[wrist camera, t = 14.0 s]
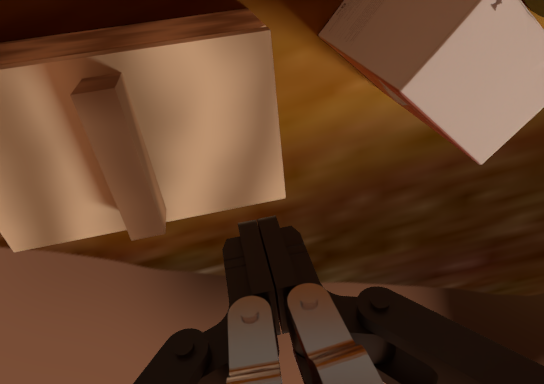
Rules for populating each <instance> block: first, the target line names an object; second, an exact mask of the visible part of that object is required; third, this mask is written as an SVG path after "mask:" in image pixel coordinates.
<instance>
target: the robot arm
mask: <svg viewBox="0 0 544 384" xmlns="http://www.w3.org/2000/svg"><path fill="white" fill-rule="evenodd" d="M257 222H258V225H257ZM257 222H256V220H252V221H247V222H242V223H238V227H239V233H240V237H235V238H230V239H227V240H226V242H225V245H224V247H223V249H222V250H223V257H224V265H225V273H226V280H227V287H228V295H229V309H228V313H227V314H226V316H225V317H224V318H223V320H222V321H221V322H219V323H218V324H217V325H216V326H214V327H212V328H210V329H208V330H207V331H205V332H201V331H199V330H197V329H192V328H191V329H183V330H181V331H178V332H176V333H175V334H173V335H172V336H171V337H170V338H169V339H168V340H167V341H166V342H165V344H164V345H163V346H162V347H161V349H160V350H159V351H158V353H157V354H156V355H155V356H154V358H153V359H152V360H151V362H150V363H149V364H148V366H147V367H146V368H145V369H144V371H143V372H142V373H141V374H140V376H139V377H138V378H137V380H136V381H135V382H134V383H133V384H282V379H281V372H280V365H279V358H278V357H279V345H278V338H277V335H280V334H281V333H280V326H281V329H282V333H283V334H284V333H288V332H289V333H290V337H291V341H292V347H293V354H294V357H295V360H296V362H297V365H298V368H299V371H300V374H301V377H302V379H303V382H304V384H384V383H383V382H385V383H386V384H544V366H543V365H540V364H538V363H537V362H535V361H533V360H531V359H529V358H526V357H525V356H523V355H520V354H518V353H516V352H514V351H512V350H510V349H508V348H506V347H504V346H502V345H500V344H498V343H496V342H494V341H492V340H490V339H488V338H486V337H484V336H482V335H480V334H478V333H476V332H474V331H472V330H470V329H468V328H466V327H464V326H462V325H460V324H458V323H456V322H454V321H452V320H450V319H447V318H446V317H444V316H441V315H440V314H438V313H436V312H434V311H432V310H430V309H427V308H425V307H424V306H422V305H420V304H418V303H416V302H414V301H412V300H410V299H408V298H406V297H403V296H402V295H399V294H397V293H395V292H393V291H391V290H389V289H387V288H383V287H370V288H367V289H365V290H363V291H362V292H361V293H360V294H359V296H358V297H349V296H339V295H335V294H333V293H331V292H329V291H327V290H326V289H325V288H324V287H323V286H322V285H321V283H320V281H319V279H318V277H317V274H316V272H315V269H314V267H313V264H312V262H311V259H310V257H309V254H308V253H307V249H306V247H305V245H304V242H303V239H302V237H301V235H300V233H299V232H298V231H297V230H296V229H294V228H293V227H292V226H288V227H283V228H280V227H279V224H278V221H277V218H276V216H271V217H266V218H261V219H257ZM279 322H280V325H279Z"/></svg>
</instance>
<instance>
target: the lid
mask: <svg viewBox="0 0 544 384" xmlns="http://www.w3.org/2000/svg"><path fill="white" fill-rule="evenodd" d="M283 198H286V196H285V185H284V174H283V163H282V152H281V141H280V130H279V119H278V109H277V98H276V87H275V76H274V65H273V54H272V43H271V32H270V29H269V28H268V27H261V28H254V29H247V30H240V31H233V32H226V33H219V34H212V35H206V36H199V37H192V38H185V39H178V40H171V41H164V42H157V43H151V44H144V45H137V46H130V47H123V48H116V49H109V50H102V51H95V52H89V53H82V54H75V55H68V56H61V57H54V58H47V59H40V60H34V61H27V62H20V63H13V64H6V65H0V233H1V234H2V236H3V237H4V238H5V240H6V241H7V243H8V244H9V246H10V247H11V249H12V250H13V252H18V251H23V250H28V249H33V248H38V247H43V246H48V245H53V244H58V243H63V242H68V241H73V240H78V239H83V238H88V237H93V236H98V235H103V234H108V233H113V232H118V231H123V230H127V231H128V233H129V236H130V238H131V240H137V239H141V238H146V237H151V236H156V235H161V234H165V229H166V222H168V221H173V220H178V219H183V218H188V217H193V216H198V215H203V214H208V213H213V212H218V211H223V210H228V209H233V208H238V207H243V206H248V205H253V204H258V203H263V202H268V201H273V200H278V199H283Z"/></svg>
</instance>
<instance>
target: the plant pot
mask: <svg viewBox="0 0 544 384" xmlns="http://www.w3.org/2000/svg"><path fill="white" fill-rule="evenodd" d="M525 3H526V4H527V6H528V7H529V8H530V9H531V10H532V11H533V12H535V13H536V14H538V15H540V16H542V17H544V0H525Z"/></svg>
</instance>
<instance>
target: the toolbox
mask: <svg viewBox="0 0 544 384" xmlns="http://www.w3.org/2000/svg"><path fill="white" fill-rule="evenodd" d="M261 27H266V25H265V24H263V23H262V22H261V21H260V20H259V19H258V18H257V17H256V16H255V15H254V14H253V13H252V12H251V11H250V10H249V9H248V8H246V9H239V10H232V11H224V12H217V13H210V14H203V15H195V16H188V17H181V18H174V19H167V20H159V21H152V22H145V23H138V24H131V25H123V26H116V27H109V28H102V29H95V30H87V31H80V32H73V33H66V34H58V35H51V36H44V37H37V38H30V39H22V40H15V41H8V42H1V43H0V65H6V64H13V63H20V62H27V61H34V60H40V59H47V58H54V57H61V56H68V55H75V54H82V53H89V52H95V51H102V50H109V49H116V48H123V47H130V46H137V45H144V44H151V43H157V42H164V41H171V40H178V39H185V38H192V37H199V36H206V35H212V34H219V33H226V32H233V31H240V30H247V29H254V28H261Z"/></svg>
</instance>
